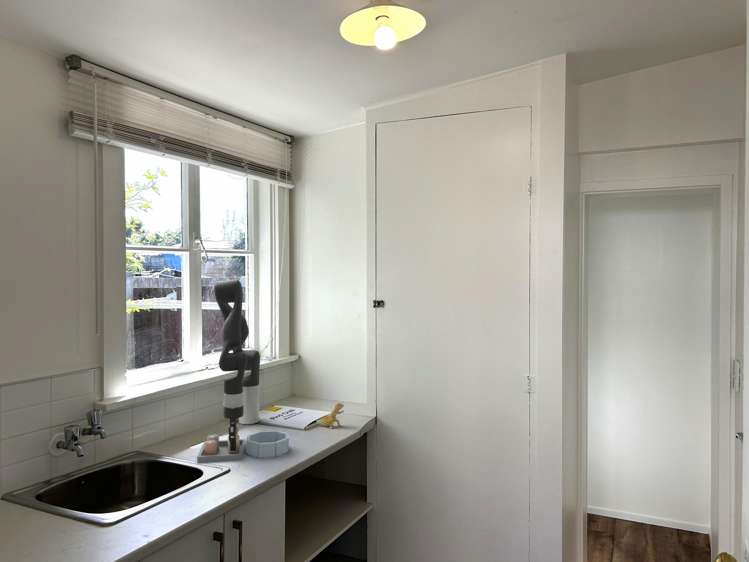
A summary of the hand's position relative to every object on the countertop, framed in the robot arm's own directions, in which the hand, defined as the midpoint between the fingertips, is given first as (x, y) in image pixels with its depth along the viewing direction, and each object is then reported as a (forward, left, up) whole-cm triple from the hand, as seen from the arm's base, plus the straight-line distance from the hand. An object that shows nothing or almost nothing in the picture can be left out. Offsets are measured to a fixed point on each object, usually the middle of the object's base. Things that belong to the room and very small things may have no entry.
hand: (233, 448), depth 204 cm
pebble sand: (0, 0, -1) cm, 1 cm away
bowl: (0, +13, -2) cm, 13 cm away
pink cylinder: (-3, -8, -2) cm, 9 cm away
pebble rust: (+4, -8, -2) cm, 9 cm away
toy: (-28, +39, -2) cm, 48 cm away
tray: (0, -4, -2) cm, 4 cm away
